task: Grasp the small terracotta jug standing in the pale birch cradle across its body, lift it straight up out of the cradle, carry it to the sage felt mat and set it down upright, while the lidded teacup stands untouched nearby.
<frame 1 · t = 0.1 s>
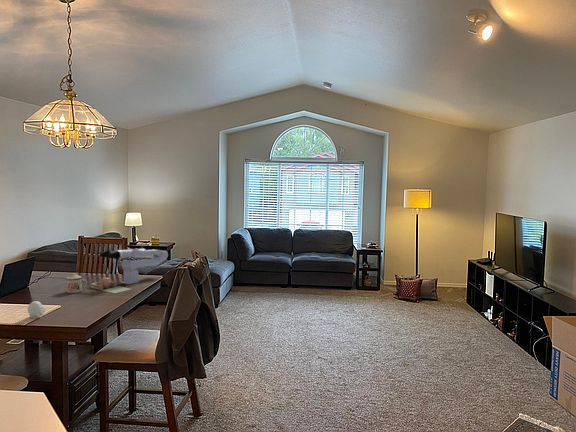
hand: (104, 255, 297), 22 cm above the table, tool horizontal, fingers open, 7 cm apart
birch cradle: (106, 287, 302), on the table
terracotta jug: (104, 283, 301), in the birch cradle
white lumpy piece: (38, 316, 239), on the table
felt mat: (117, 290, 294), on the table
teacup with lid: (76, 291, 291), on the table
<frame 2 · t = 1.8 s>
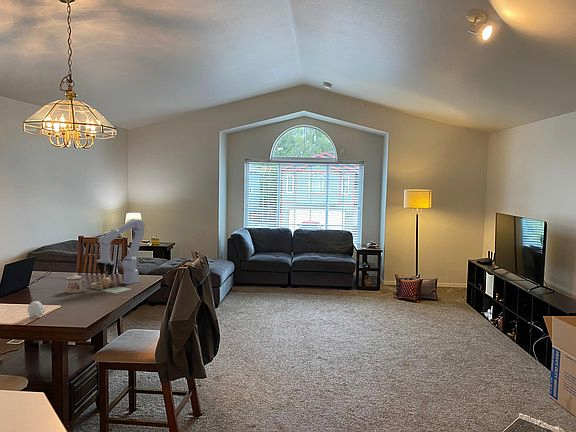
hand: (105, 274, 301), 9 cm above the table, tool pointing down, fingers open, 7 cm apart
nothing on the table moved.
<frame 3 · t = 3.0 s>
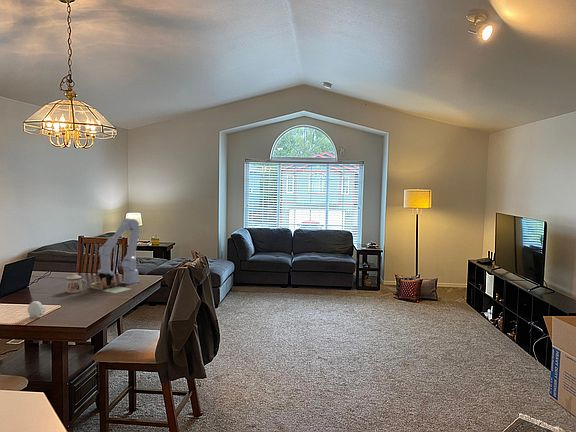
hand: (106, 284, 302), 2 cm above the table, tool pointing down, fingers closed on terracotta jug, 5 cm apart
terracotta jug: (104, 282, 301), in the birch cradle, touching gripper
everything else where it was.
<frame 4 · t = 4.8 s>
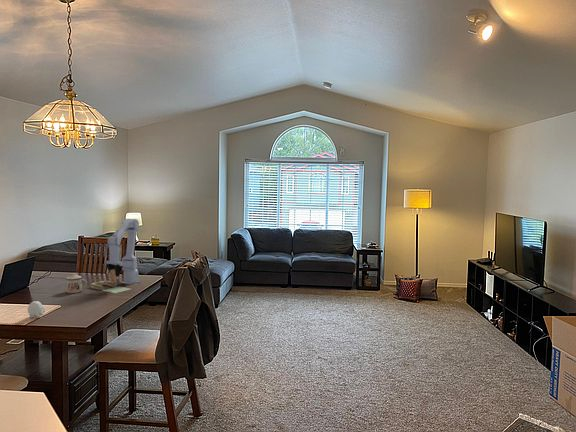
hand: (115, 275, 295), 9 cm above the table, tool pointing down, fingers closed on terracotta jug, 5 cm apart
terracotta jug: (113, 274, 294), point 10 cm above the table, touching gripper
everything else where it was.
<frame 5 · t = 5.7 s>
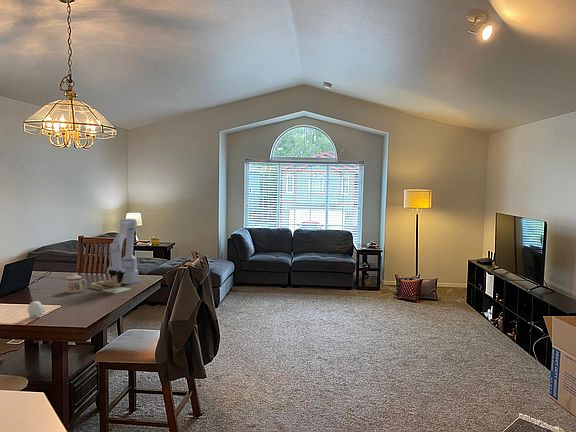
hand: (116, 282, 294), 5 cm above the table, tool pointing down, fingers closed on terracotta jug, 5 cm apart
terracotta jug: (115, 280, 293), point 6 cm above the table, touching gripper
everything else where it was.
when the fingers open (3 cm above the table, at t = 6.6 s): terracotta jug stays where it is, resting on felt mat.
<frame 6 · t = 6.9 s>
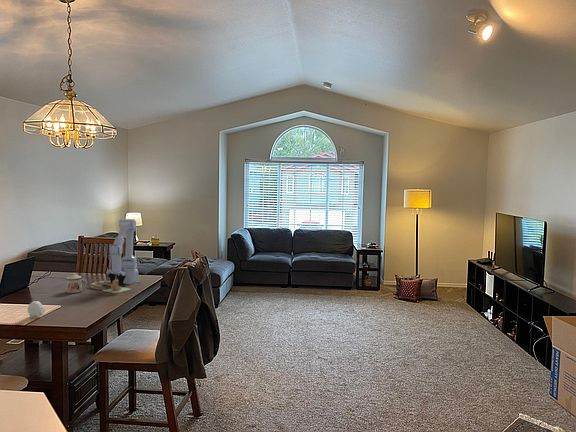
hand: (116, 285, 294), 3 cm above the table, tool pointing down, fingers open, 7 cm apart
terracotta jug: (115, 285, 293), resting on felt mat
everything else where it was.
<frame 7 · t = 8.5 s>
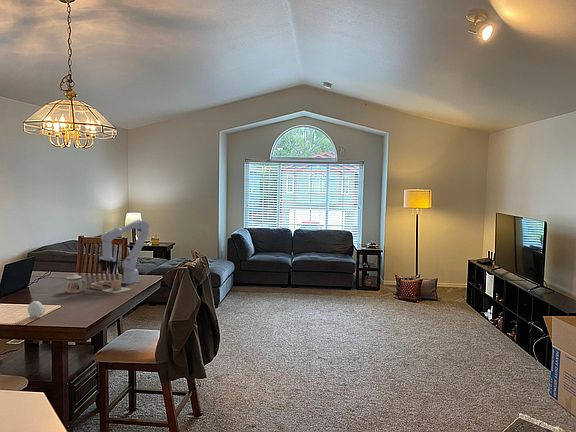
hand: (107, 271, 304), 10 cm above the table, tool pointing down, fingers open, 7 cm apart
nothing on the table moved.
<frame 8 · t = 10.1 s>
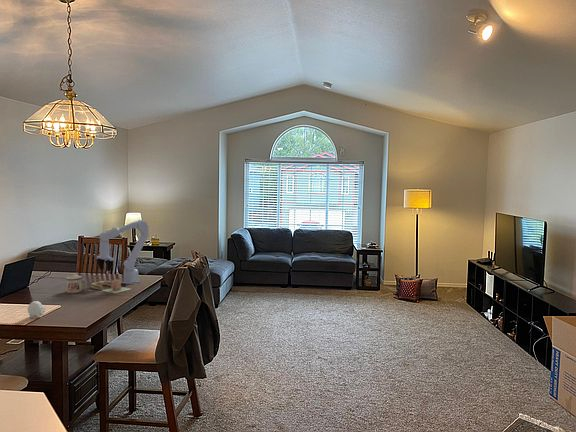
hand: (105, 270, 308), 10 cm above the table, tool pointing down, fingers open, 7 cm apart
nothing on the table moved.
at the end: terracotta jug inside the target area (0.1 cm from its centre), resting on felt mat; terracotta jug tilted 2°; terracotta jug touching felt mat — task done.
